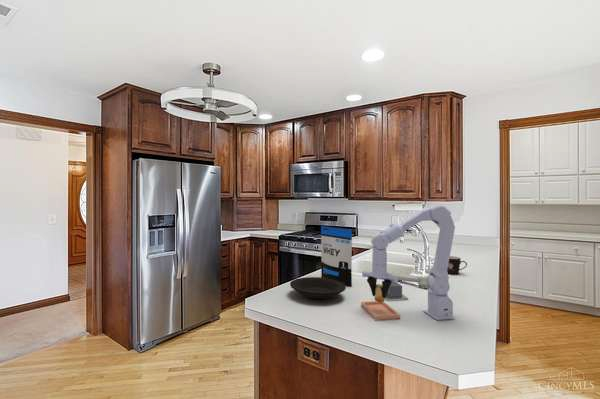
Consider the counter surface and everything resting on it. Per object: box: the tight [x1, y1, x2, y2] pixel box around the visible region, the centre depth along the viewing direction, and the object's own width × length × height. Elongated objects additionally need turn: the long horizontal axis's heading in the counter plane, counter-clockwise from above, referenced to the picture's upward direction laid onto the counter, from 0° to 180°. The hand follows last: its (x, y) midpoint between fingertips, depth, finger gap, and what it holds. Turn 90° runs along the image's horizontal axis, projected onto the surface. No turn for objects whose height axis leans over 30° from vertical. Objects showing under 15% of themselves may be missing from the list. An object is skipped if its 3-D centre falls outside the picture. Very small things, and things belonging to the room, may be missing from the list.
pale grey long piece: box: [387, 272, 429, 290], centre depth 168 cm, size 5×7×25 cm
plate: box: [289, 276, 347, 301], centre depth 148 cm, size 28×24×6 cm
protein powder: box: [320, 225, 353, 288], centre depth 172 cm, size 10×24×30 cm, turn 37°
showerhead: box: [424, 266, 433, 275], centre depth 172 cm, size 9×7×10 cm
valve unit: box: [385, 281, 409, 302], centre depth 148 cm, size 12×10×6 cm
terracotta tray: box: [360, 300, 401, 321], centre depth 128 cm, size 16×10×2 cm, turn 9°
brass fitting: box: [374, 283, 386, 302], centre depth 128 cm, size 4×4×6 cm
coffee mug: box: [447, 255, 468, 276], centre depth 187 cm, size 12×9×10 cm
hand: (379, 296), depth 127 cm, fingers closed on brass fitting, 4 cm apart
